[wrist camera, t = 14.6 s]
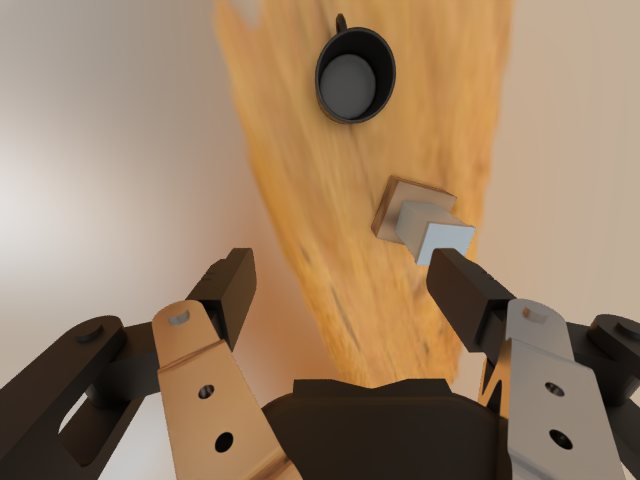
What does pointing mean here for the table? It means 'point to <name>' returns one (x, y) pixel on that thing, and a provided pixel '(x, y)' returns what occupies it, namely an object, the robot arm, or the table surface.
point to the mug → (354, 74)
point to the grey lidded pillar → (431, 230)
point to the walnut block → (393, 201)
